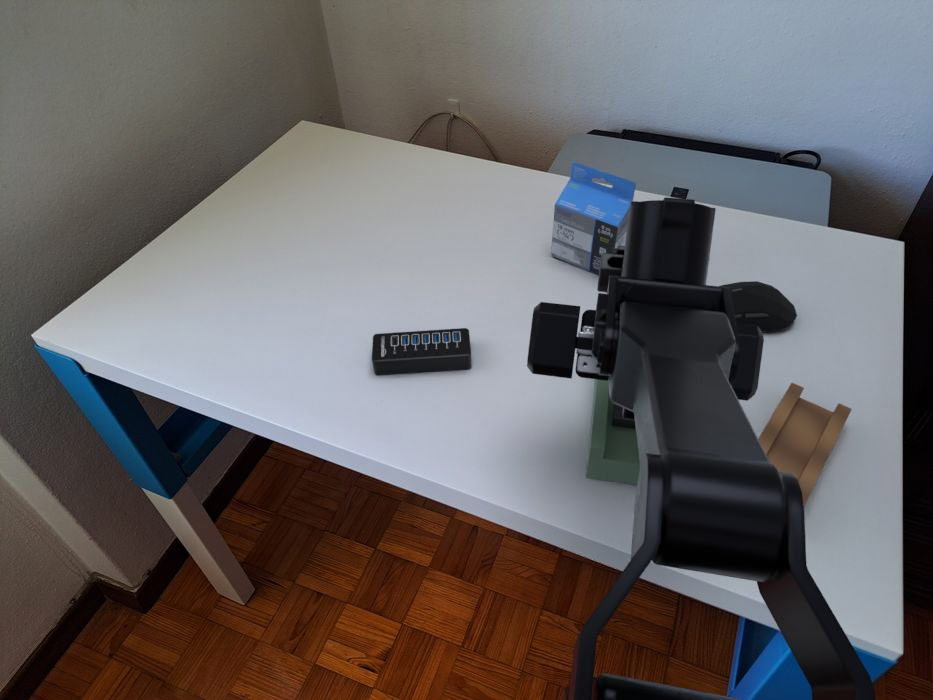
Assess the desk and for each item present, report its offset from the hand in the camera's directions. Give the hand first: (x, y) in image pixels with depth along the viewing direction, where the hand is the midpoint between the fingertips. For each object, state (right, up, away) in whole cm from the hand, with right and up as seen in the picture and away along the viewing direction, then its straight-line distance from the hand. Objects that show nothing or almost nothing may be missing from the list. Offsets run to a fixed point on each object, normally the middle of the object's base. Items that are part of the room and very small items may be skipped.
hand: (633, 348), depth 66 cm
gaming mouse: (+15, +4, +16) cm, 22 cm away
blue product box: (0, +11, +24) cm, 26 cm away
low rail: (+15, -11, +1) cm, 19 cm away
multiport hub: (-21, -1, +13) cm, 25 cm away
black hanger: (0, -5, +3) cm, 6 cm away
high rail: (0, -7, +6) cm, 9 cm away
